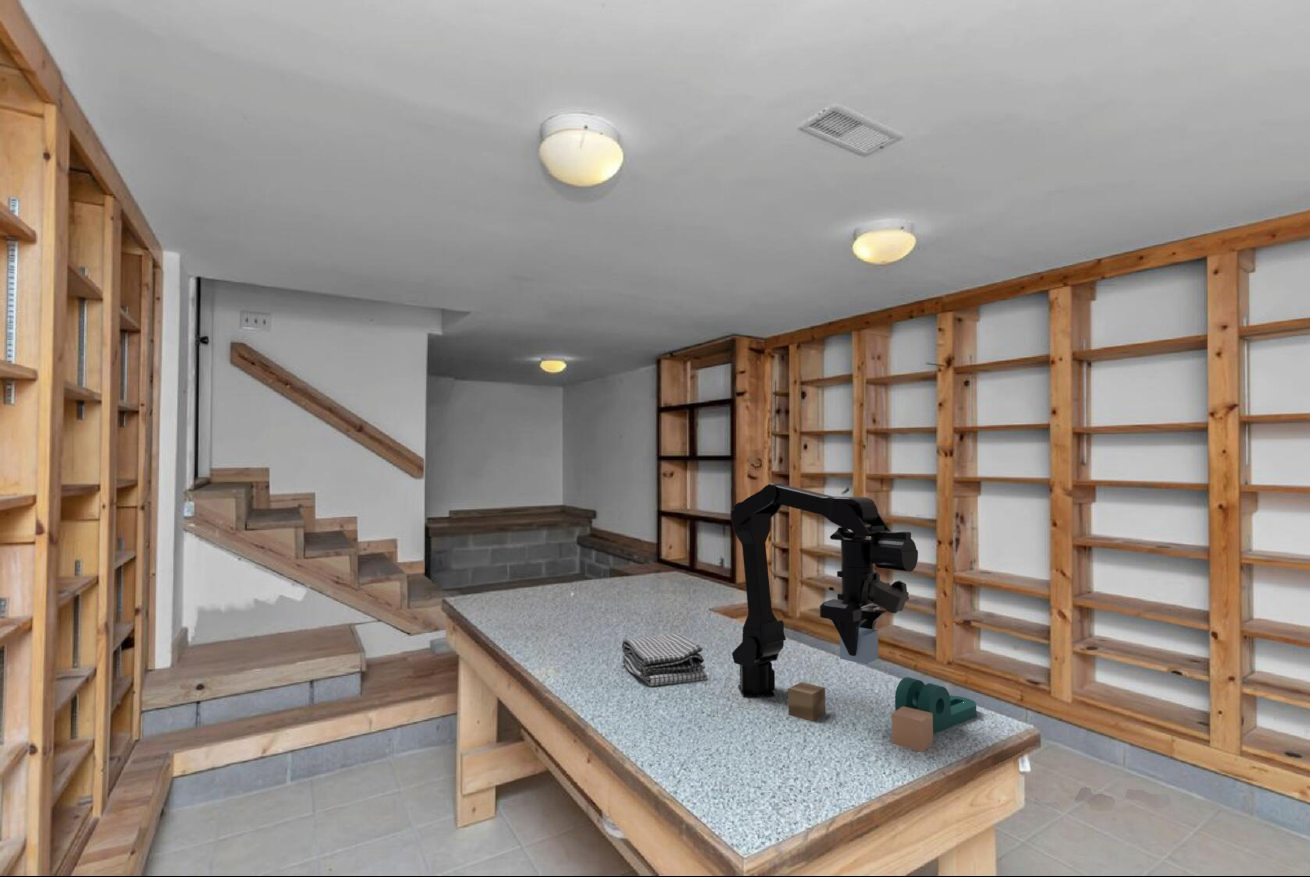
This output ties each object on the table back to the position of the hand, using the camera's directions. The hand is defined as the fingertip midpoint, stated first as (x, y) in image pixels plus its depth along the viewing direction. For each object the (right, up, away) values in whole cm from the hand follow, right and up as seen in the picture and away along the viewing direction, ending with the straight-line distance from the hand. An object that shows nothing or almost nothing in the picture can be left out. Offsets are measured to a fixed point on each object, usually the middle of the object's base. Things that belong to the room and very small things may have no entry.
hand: (858, 652), depth 117 cm
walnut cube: (-8, -13, +5) cm, 16 cm away
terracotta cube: (+6, -13, -8) cm, 16 cm away
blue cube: (0, -1, 0) cm, 1 cm away
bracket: (+16, -14, +3) cm, 21 cm away
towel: (-35, -16, +31) cm, 50 cm away
